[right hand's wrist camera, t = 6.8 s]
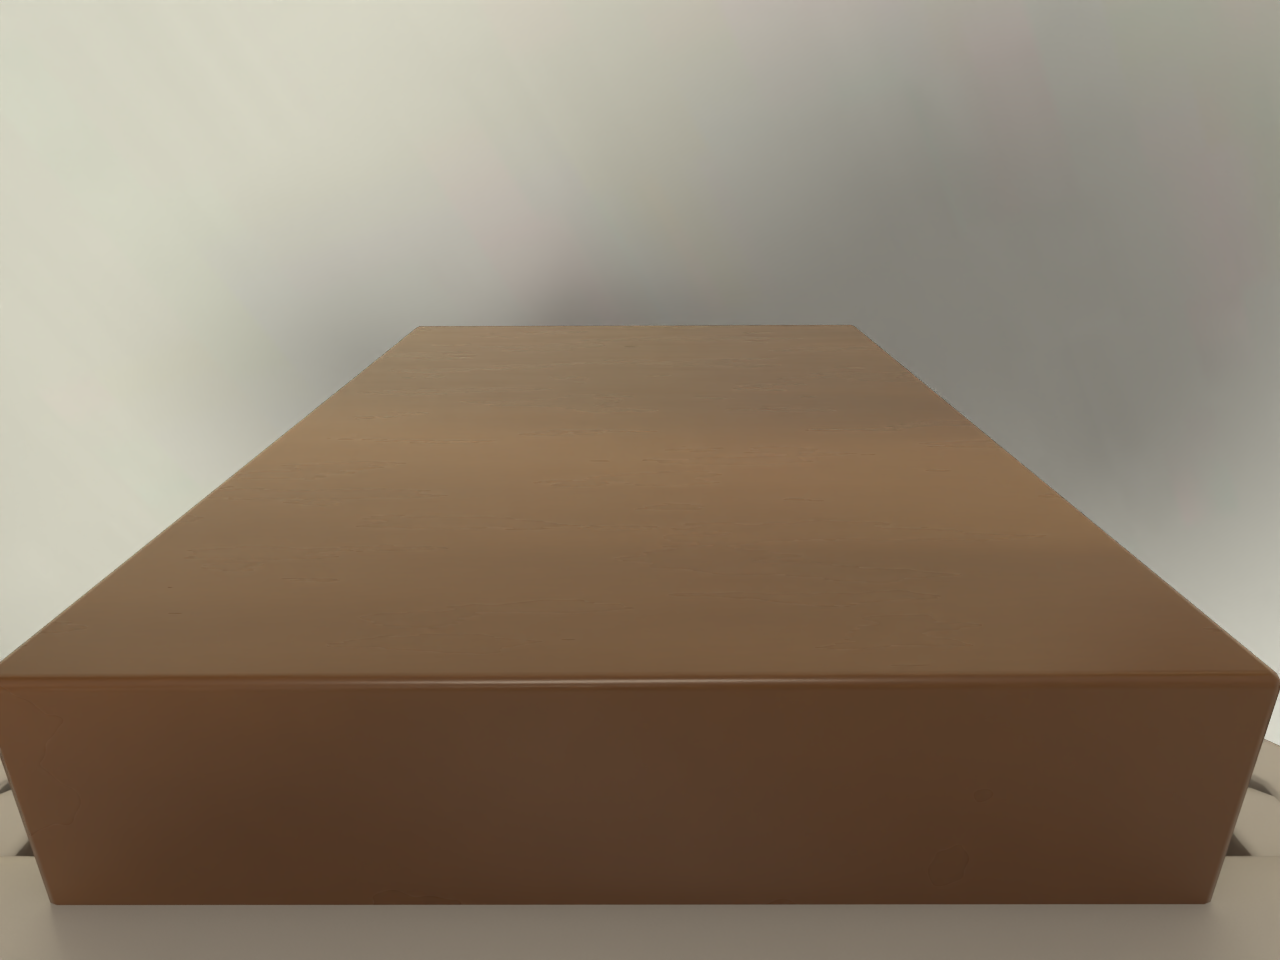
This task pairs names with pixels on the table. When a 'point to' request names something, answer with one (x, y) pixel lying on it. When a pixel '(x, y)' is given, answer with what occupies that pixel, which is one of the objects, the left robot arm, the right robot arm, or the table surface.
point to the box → (632, 654)
